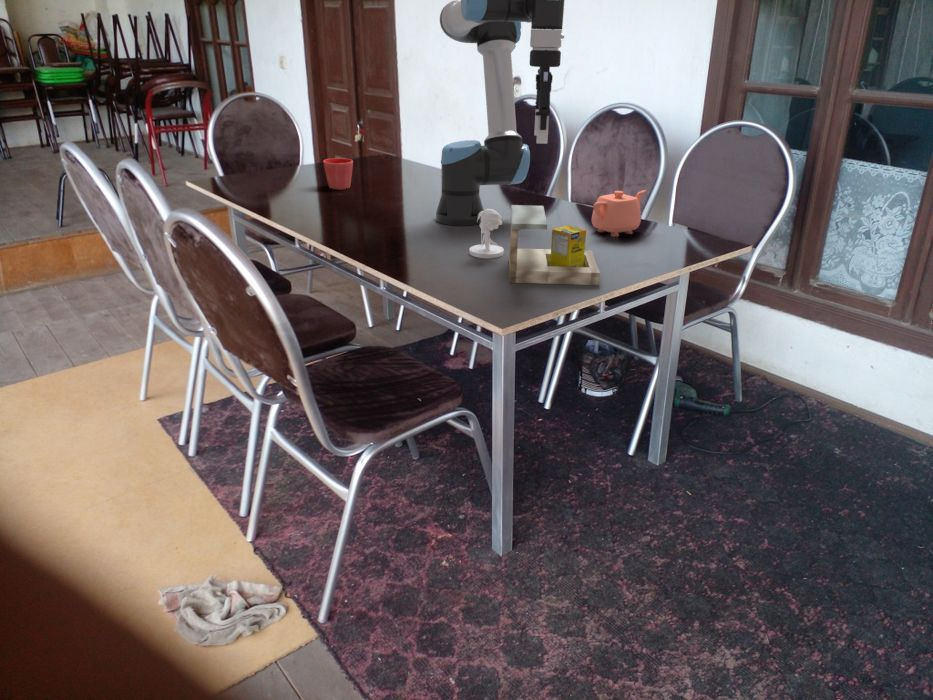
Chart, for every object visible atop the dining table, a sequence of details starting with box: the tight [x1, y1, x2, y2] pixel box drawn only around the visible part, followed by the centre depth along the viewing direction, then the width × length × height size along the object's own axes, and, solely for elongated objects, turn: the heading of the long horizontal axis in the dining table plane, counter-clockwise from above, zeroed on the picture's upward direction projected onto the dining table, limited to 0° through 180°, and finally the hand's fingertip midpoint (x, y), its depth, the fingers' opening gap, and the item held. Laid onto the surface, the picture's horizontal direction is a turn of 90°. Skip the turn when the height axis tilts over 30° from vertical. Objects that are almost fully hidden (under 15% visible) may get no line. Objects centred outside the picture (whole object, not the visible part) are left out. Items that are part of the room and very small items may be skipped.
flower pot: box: [323, 157, 354, 190], centre depth 257 cm, size 11×11×10 cm
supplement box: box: [549, 224, 587, 267], centre depth 171 cm, size 6×6×11 cm
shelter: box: [508, 204, 601, 286], centre depth 171 cm, size 21×18×14 cm
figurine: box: [468, 208, 505, 259], centre depth 184 cm, size 9×9×12 cm
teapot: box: [591, 189, 647, 238], centre depth 206 cm, size 20×12×12 cm, turn 124°
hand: (540, 139), depth 180 cm, fingers open, 13 cm apart
